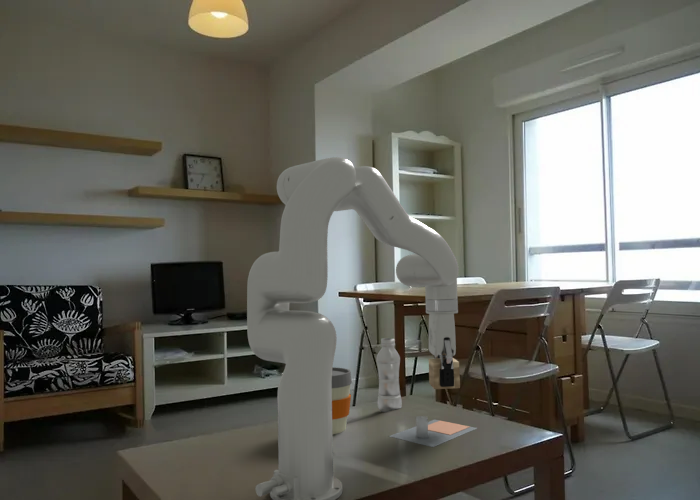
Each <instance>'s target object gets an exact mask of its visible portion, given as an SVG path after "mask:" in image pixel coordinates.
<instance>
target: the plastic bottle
mask: <svg viewBox="0 0 700 500" xmlns="http://www.w3.org/2000/svg"><path fill="white" fill-rule="evenodd" d="M380 341H381V342H380V346H381V349H380V350H379V352H377V354H376V366H377V374H378V383H379V384H378V395H377V396H378V397H377V408H378V409H379V411H380V412H382V413H388V412H392V411H395V410H399V409H401V408H402V403H403V400H402V396H401V390H400V378H399V377H400V363H401V356H400V354H399V353H398V351H397V350H396V348H395V346H396V343H395V341H396V340H395V338H393V337H392V338H391V337H390V338H389V337H384V338H381V339H380Z"/></svg>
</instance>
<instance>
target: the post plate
mask: <svg viewBox="0 0 700 500" xmlns="http://www.w3.org/2000/svg"><path fill="white" fill-rule="evenodd" d="M428 418H429V417H428V416H425V415H420V416H416V417H415V426H413V427H411V428H410V427H409V428H408V429H405V430H402V431H400V432H396V433H394V434H391V435H388V437H390V438H395V439H398V440H402V441H406V442H410V443H414V444H418V445H422V446H427V447H431V448H434V447H437V446H439V445H442V444H445V443H447V442H448V441H450V440H453V439H455V438H459V437H460V436H463V435H465V434H468V433H471V432H472V431H475V430H477V429H478V427H473V426H469V425H463V424H459V423H454V422H449V421H443V420H439V419H432V420H429V419H428Z"/></svg>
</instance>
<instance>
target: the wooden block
mask: <svg viewBox="0 0 700 500" xmlns="http://www.w3.org/2000/svg"><path fill="white" fill-rule="evenodd" d="M452 358H453V369H454V386H452V387H441V386H440V370H439V369H441V365H440V358H436V359H434V358H428V380H429V382H428V383H429V385H430V387H432V388H433V390H446V389H447V390H448V389H451V390H452V389H460V388H461V377H460V361H458V359H456V358H454V357H452ZM443 360H444V359H443ZM443 363H444V362H443Z"/></svg>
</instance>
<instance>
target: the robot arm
mask: <svg viewBox="0 0 700 500" xmlns="http://www.w3.org/2000/svg"><path fill="white" fill-rule="evenodd" d="M276 191H277V195H278V196H277V197H279V199H280V201H281V202H282V203H283V204H284V205H285V206H284V209H283V212H282V214H281V219H280V220H281V221H280V231H279V248H278V251H270V252H266V253H263V254H261V255H260V256H259V257H258V258H256V259H255V260H254V262H253V264H252V265H251V268H250V270H249V273H248V277H247V283H246V284H247V286H246V287H247V288H246V289H247V290H246V291H247V292H246V294H247V295H246V296H247V297H246V301H247V303H246V304H247V305H246V308H247V309H246V310H247V311H246V317H247V318H246V319H247V320H246V326H247V329H246V330H247V331H246V332H247V339H248V344H249V347H250V350H251V351H252V352H253V354H254V355H255V356H256V357H258V358H260V359H261V360H263V361H267V362H272V363H273V362H274V363H282V364H285V366H284V370H283V372H282V375H281V377H280V380H279V383H278V385H277V387H278V388H277V398H276V399H277V443H278V445H277V447H278V449H277V450H278V451H277V452H278V469H274V470H273V476H271V478H270V479H269V480H268V481H263V482H261V483H257V484H256V485H255V493H256V495H257V496H258V497H263V496H265V495H268V494H269V496H270V498H271V500H337V499H338V498H340V496H342V493H343V483H342V482H341V480H339V479H338V478H337V477H334V448H333V447H334V446H333V445H334V442H333V441H334V440H333V434H332V368H333V366H334V360H335V353H336V348H337V331H336V327H335V326H334V324H333V323H332V321H331V320H330V319H329V318H328V317H327V316H325V315H324V314H321V313H318V312H316V311H311V310H295V309H293V310H290V304H308V303H314V302H317V301H319V300H320V299H322V298H323V297H324V295H325V293H326V291H327V286H328V272H329V270H328V269H329V267H328V235H329V234H328V233H329V232H328V231H329V223H330V221H331V218H332V215H333V213H334V212H341V211H342V212H343V211H349V210H354V211H355V212H356V213H357V214H358V215H359V217H360V218H361V220H362V221H363V223H364V224H365V225H366V226H367V229H368V230H369V231H370V232H371V234H372V235H373V236H374V238H375V239H376V240H378V242H380V243H382V244H386V245H389V246H391V247H395V248H396V249H397V248H398V249H401V250H405V251H408V252H411V253H413V254H409V255H408V254H407V255H404V256H403V257H402V258H400V259H399V260H398V262H397V264H396V266H395V274H396V277H397V279H398V280H399V282H400V283H401V284H403V286H407V287H412V288H424V289H425V292H424V293H425V294H424V295H425V313H426V314H428V351H429V353H431V354H432V355H433V356H434V358H433V359H436V358H440V365H441V369H439V370H440V386H441V387H452V386H454V369H453V358H454V356H455V355H456V352H457V351H456V349H457V347H456V345H457V343H456V339H457V338H456V326H455V325H456V324H455V323H456V321H455V314H458V313H459V305H458V304H459V301H458V277H459V274H460V273H459V271H460V270H459V269H460V268H459V264H458V260H457V258H456V256H455V254H454V252H453V250H452V249H451V247H450V245H449V244H448V242H447V241H446V239H444V237H443V236H442V235H441V234H439V233H438V232H437V231H436V230H435V229H433V228H431V227H429V226H428V225H426V224H424V223H423V222H421V221H419V220H418V219H416V218H413V217H412V216H410V215H409V214H408V213H407V212H406V210H405V208H404V207H403V205H402V204H401V203H400V201H399V199H398V197H397V196H396V195H395V193H394V192H393V190H392V188H391V187H390V185H389V184H388V182H387V181H386V179H385V178H384V176H383V175H382V174H381V172H380V171H379V170H378V169H376V168H375V167H372V166H367V165H361V166H354V164H353V163H352V162H351V160H348V159H347V158H344V157H338V156H337V157H334V156H333V157H326V158H322V159H317V160H314V161H309V162H305V163H301V164H298V165H293V166H290V167H288V168H286V169H284V170H283V171H282V172H281V173H280V174H279V176H278V178H277V181H276ZM443 359H444V360H443ZM443 362H444V363H443Z"/></svg>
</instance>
